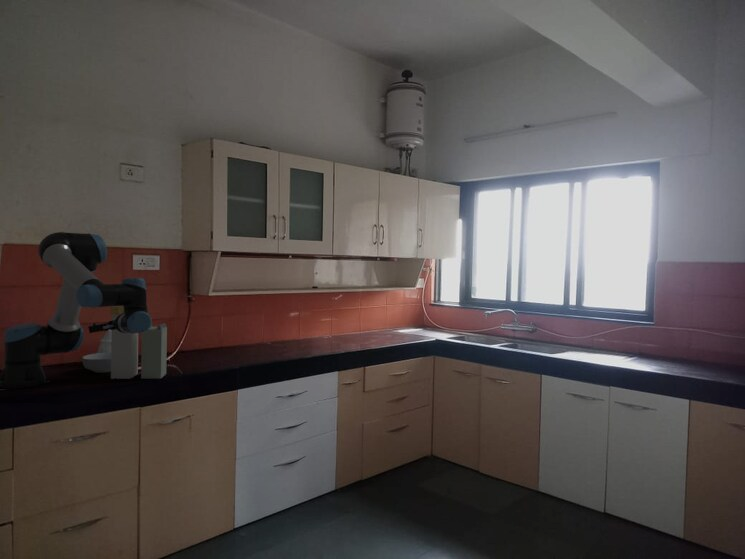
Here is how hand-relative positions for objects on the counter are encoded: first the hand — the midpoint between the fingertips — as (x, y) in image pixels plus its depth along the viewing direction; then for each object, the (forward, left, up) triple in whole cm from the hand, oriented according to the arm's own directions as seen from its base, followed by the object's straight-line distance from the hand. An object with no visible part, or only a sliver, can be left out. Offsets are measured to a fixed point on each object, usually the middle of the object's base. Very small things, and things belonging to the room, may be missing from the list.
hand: (111, 323), depth 200 cm
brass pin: (0, +13, +3) cm, 13 cm away
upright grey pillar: (+12, +15, -25) cm, 31 cm away
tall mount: (0, +15, -25) cm, 29 cm away
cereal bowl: (-12, +25, -25) cm, 38 cm away
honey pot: (-14, +40, -25) cm, 49 cm away
